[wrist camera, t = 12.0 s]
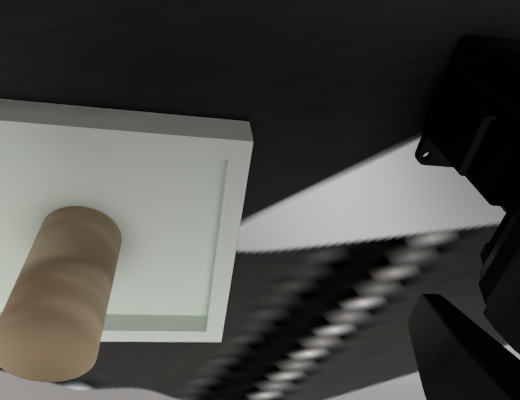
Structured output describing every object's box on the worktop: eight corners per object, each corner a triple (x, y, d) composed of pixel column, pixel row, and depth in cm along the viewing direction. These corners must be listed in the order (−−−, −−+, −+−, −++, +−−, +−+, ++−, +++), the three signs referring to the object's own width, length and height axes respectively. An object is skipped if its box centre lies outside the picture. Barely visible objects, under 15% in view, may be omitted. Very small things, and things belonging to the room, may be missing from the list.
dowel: (121, 208, 23) (94, 320, 17) (122, 266, 25) (99, 381, 19) (35, 203, 22) (-22, 318, 16) (45, 263, 24) (-3, 382, 19)
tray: (249, 121, 22) (253, 141, 20) (220, 316, 29) (221, 342, 28) (-132, 86, 19) (-164, 106, 17) (-51, 312, 27) (-67, 340, 25)
